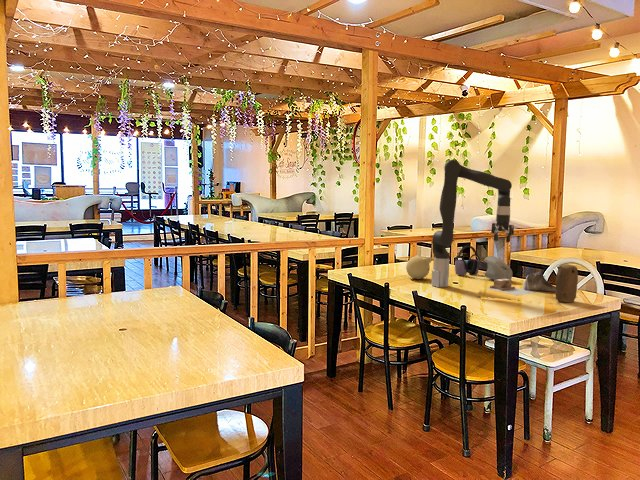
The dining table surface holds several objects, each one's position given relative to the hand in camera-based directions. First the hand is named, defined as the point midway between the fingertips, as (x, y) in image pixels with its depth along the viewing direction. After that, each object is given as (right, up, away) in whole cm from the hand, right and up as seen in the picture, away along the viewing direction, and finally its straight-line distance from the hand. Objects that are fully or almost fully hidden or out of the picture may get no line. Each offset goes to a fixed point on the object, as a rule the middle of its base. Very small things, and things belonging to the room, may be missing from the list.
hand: (501, 241), depth 306 cm
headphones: (-7, -23, +48) cm, 54 cm away
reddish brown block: (-1, -27, -4) cm, 27 cm away
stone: (+24, -32, -29) cm, 49 cm away
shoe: (+22, -30, -9) cm, 38 cm away
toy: (-44, -24, +31) cm, 59 cm away
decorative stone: (+8, -25, +29) cm, 39 cm away
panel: (+2, -29, -8) cm, 30 cm away
